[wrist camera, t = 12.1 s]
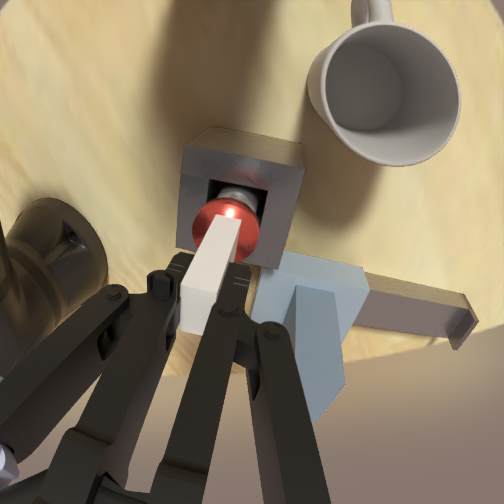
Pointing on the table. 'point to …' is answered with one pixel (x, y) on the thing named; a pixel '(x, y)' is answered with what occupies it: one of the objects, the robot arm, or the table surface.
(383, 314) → the rail
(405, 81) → the mug
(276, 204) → the grey cube box
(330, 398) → the carriage
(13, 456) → the robot arm
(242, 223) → the plunger
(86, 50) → the table surface
